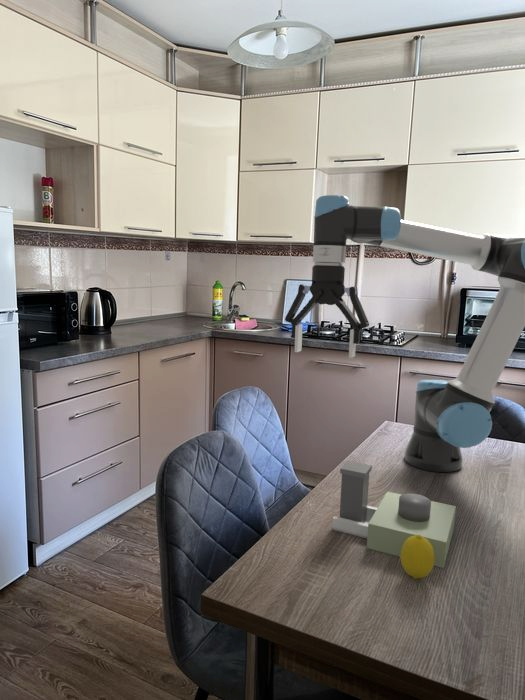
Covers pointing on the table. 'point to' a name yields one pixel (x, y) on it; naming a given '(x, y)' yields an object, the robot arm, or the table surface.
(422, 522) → the green block with knob
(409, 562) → the lemon
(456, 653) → the table surface
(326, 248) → the robot arm
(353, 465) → the gray capped pillar
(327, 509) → the table surface
